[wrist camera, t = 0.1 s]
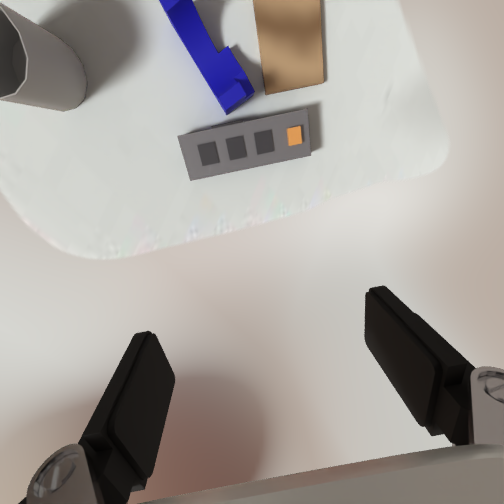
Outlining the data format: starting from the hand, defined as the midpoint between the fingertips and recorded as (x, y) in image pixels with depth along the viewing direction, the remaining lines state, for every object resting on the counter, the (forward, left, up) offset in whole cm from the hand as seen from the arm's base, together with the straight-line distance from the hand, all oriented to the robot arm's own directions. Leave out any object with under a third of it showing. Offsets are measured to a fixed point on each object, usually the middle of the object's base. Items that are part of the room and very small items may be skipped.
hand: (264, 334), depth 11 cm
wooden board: (-20, +10, -31) cm, 38 cm away
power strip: (-7, +2, -32) cm, 33 cm away
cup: (-20, -21, -32) cm, 43 cm away
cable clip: (-18, 0, -32) cm, 36 cm away
